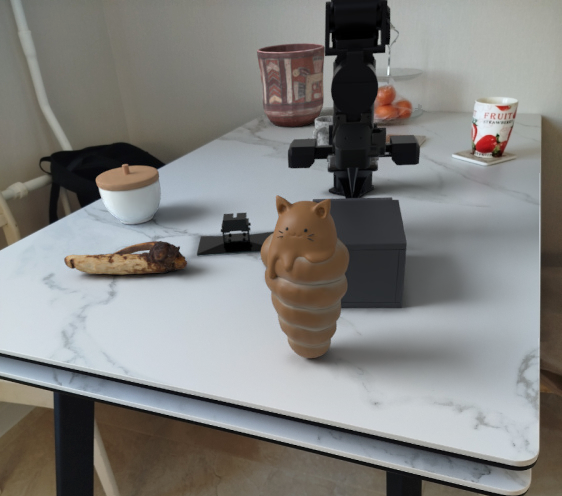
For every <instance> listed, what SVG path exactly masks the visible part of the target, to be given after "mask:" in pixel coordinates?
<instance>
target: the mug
mask: <svg viewBox="0 0 562 496" xmlns="http://www.w3.org/2000/svg"><path fill="white" fill-rule="evenodd" d="M329 125H333V115H322V116H318V117H317V118H316V119H315V121H314V129H313V131H312V136H311V137H312V138H311V139H316V141H317V146H319V145H329Z"/></svg>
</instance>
